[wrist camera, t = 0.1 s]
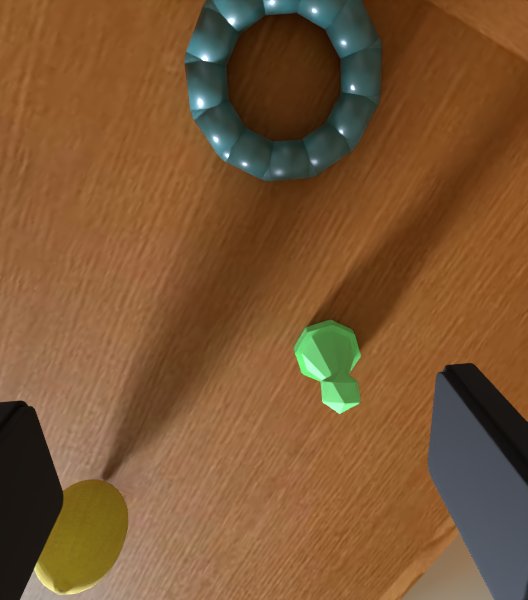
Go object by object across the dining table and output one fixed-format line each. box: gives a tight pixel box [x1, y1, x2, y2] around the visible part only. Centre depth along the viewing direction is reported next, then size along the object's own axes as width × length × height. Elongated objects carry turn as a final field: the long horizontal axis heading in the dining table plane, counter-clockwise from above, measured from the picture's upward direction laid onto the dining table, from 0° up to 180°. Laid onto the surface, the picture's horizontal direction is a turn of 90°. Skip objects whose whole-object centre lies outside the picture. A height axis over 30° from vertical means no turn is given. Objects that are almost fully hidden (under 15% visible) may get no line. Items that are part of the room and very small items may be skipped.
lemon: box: [34, 480, 128, 595], centre depth 29 cm, size 6×6×8 cm
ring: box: [185, 0, 382, 181], centre depth 22 cm, size 10×10×2 cm
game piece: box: [294, 320, 361, 414], centre depth 26 cm, size 4×4×6 cm
